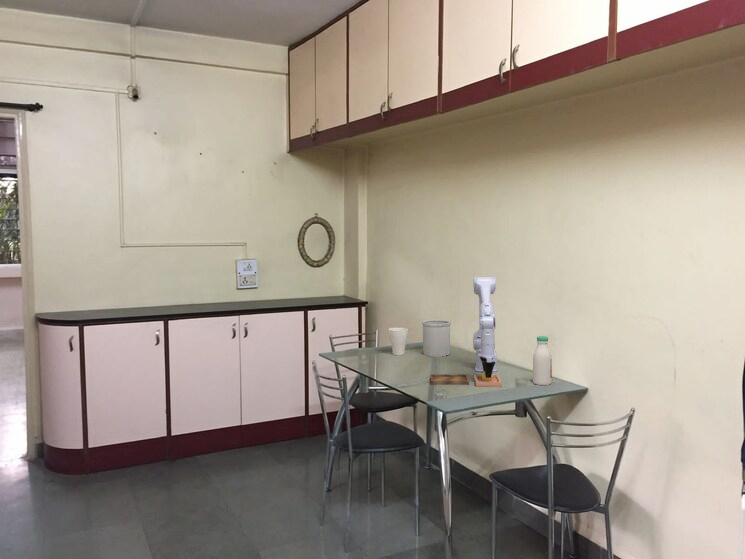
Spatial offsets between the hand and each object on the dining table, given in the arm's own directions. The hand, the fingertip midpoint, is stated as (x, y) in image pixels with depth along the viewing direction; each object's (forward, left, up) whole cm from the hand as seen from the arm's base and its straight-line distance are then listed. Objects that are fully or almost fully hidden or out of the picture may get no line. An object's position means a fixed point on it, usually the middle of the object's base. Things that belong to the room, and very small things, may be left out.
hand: (487, 375), depth 264 cm
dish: (0, 0, -3) cm, 3 cm away
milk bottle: (-23, 0, -4) cm, 23 cm away
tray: (+16, -3, -3) cm, 17 cm away
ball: (0, 0, 0) cm, 0 cm away
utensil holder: (+20, -59, -4) cm, 62 cm away
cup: (+40, -59, -4) cm, 71 cm away
